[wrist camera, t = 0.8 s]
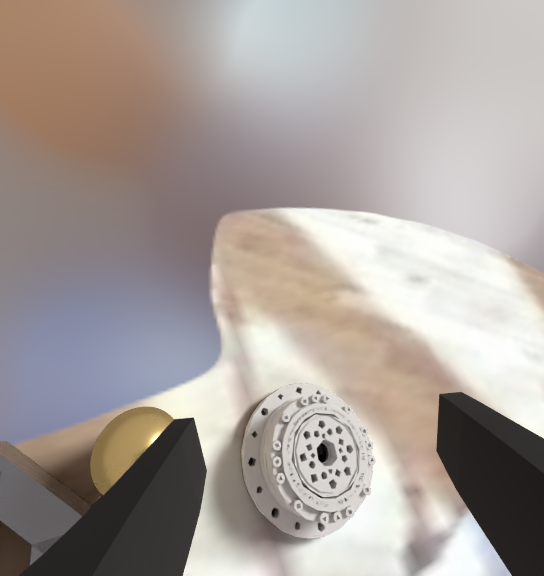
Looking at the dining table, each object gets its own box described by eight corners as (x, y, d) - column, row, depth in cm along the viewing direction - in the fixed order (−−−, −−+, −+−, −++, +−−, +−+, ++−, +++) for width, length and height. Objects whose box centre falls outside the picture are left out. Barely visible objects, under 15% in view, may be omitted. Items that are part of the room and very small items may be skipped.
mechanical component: (235, 391, 23) (245, 550, 18) (246, 381, 19) (262, 577, 15) (342, 381, 26) (373, 515, 22) (369, 371, 22) (413, 530, 18)
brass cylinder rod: (153, 498, 18) (140, 524, 12) (103, 461, 18) (68, 469, 12) (193, 438, 20) (198, 436, 14) (148, 406, 20) (136, 391, 15)
